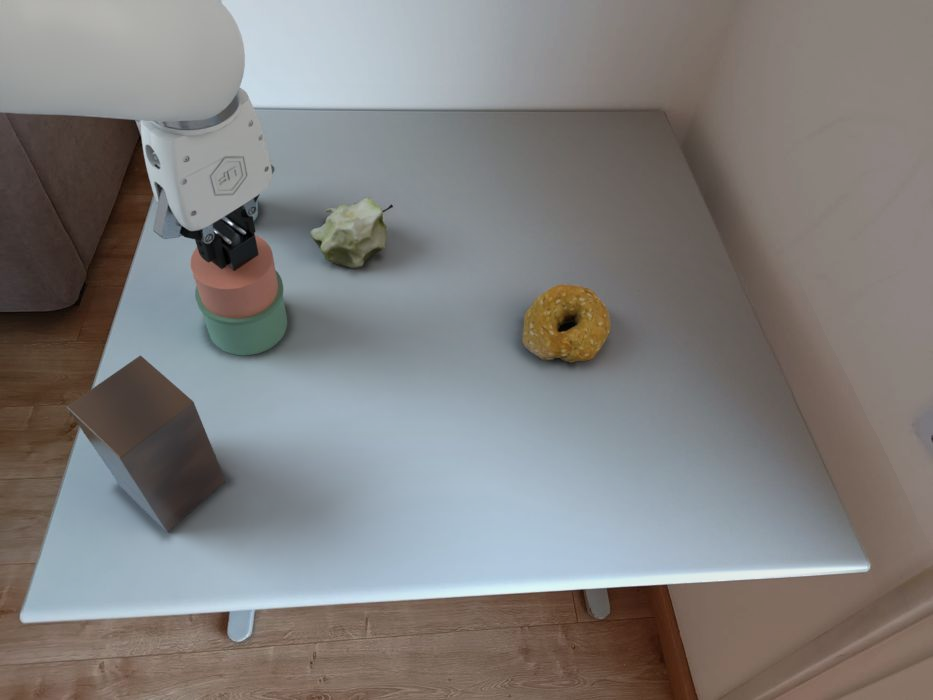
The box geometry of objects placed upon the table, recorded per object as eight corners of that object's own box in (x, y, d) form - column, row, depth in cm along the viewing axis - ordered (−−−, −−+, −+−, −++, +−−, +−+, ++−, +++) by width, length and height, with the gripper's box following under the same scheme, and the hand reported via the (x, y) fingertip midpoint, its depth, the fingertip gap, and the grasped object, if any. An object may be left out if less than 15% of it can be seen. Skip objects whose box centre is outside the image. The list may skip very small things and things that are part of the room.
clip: (234, 271, 71) (228, 248, 68) (201, 246, 73) (194, 222, 70) (259, 254, 73) (254, 231, 70) (226, 230, 74) (220, 206, 72)
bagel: (501, 323, 86) (507, 297, 82) (573, 291, 90) (581, 265, 86) (550, 383, 81) (558, 359, 77) (623, 346, 85) (634, 321, 82)
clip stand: (167, 532, 67) (119, 458, 55) (121, 487, 69) (65, 406, 57) (226, 481, 71) (193, 401, 59) (180, 440, 73) (140, 354, 61)
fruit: (386, 231, 95) (398, 191, 88) (374, 287, 90) (386, 249, 83) (318, 213, 93) (324, 170, 87) (302, 269, 89) (307, 228, 82)
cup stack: (244, 371, 79) (226, 307, 70) (189, 326, 81) (165, 259, 73) (305, 323, 83) (296, 258, 74) (252, 282, 86) (237, 215, 77)
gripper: (132, 159, 52) (187, 316, 67) (298, 71, 61) (315, 228, 76) (70, 114, 55) (137, 275, 70) (238, 35, 63) (266, 194, 78)
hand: (229, 249), depth 72 cm, fingers closed on clip, 3 cm apart
